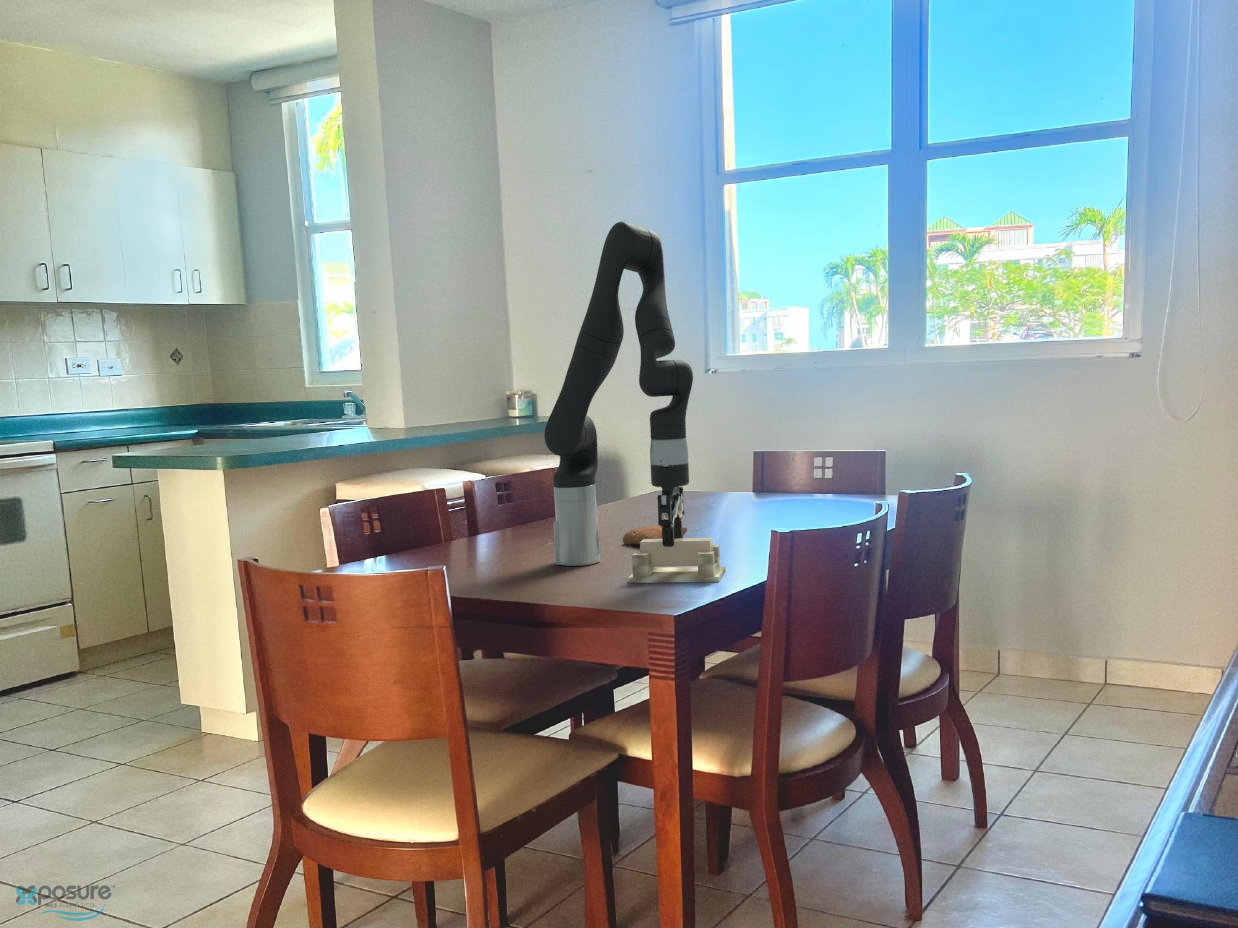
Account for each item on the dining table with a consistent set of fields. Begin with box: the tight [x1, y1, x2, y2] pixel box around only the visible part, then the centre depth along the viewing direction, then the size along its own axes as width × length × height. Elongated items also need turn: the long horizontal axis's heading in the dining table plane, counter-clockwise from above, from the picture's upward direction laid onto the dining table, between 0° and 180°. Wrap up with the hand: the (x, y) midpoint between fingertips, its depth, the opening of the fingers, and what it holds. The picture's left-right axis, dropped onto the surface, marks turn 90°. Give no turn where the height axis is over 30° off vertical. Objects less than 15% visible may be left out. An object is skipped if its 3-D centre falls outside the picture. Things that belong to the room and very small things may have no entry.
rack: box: [627, 544, 726, 584], centre depth 205 cm, size 18×10×6 cm, turn 77°
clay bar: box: [639, 537, 714, 568], centre depth 205 cm, size 14×4×5 cm, turn 77°
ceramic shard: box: [622, 524, 688, 546], centre depth 246 cm, size 15×6×15 cm
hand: (672, 542), depth 204 cm, fingers open, 8 cm apart
